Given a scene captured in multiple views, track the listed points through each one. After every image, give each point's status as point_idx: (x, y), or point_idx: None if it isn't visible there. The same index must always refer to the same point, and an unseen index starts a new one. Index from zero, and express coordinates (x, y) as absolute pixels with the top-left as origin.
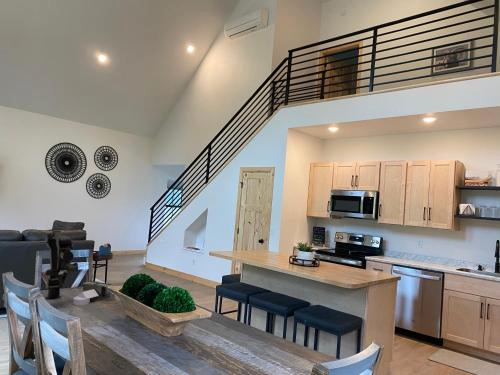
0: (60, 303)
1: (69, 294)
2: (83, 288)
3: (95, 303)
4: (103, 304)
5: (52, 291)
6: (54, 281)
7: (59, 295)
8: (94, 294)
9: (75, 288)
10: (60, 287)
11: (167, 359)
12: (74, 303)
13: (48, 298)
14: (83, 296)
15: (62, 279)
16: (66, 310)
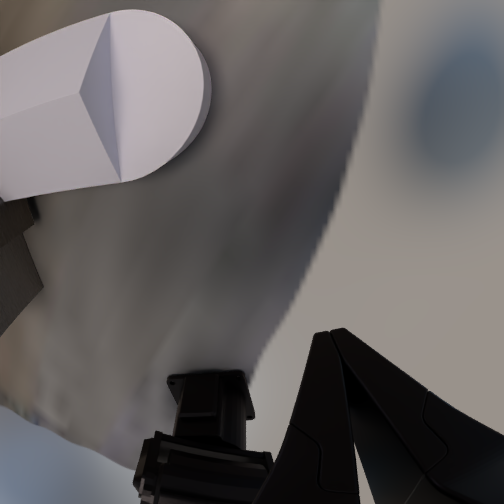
0: (268, 239)
1: (103, 380)
2: (9, 319)
3: (73, 6)
4: None
5: (234, 426)
6: (236, 494)
7: (185, 382)
8: (3, 68)
9: (52, 423)
10: (168, 435)
11: None
12: (210, 92)
13: (250, 398)
14: (102, 65)
15: (407, 399)
16: (365, 8)
